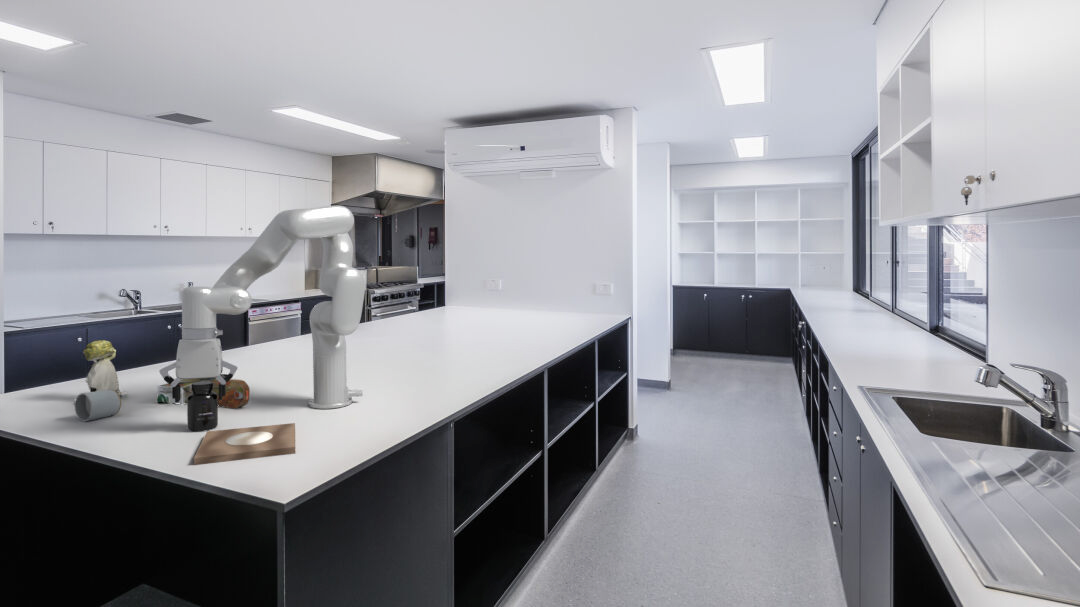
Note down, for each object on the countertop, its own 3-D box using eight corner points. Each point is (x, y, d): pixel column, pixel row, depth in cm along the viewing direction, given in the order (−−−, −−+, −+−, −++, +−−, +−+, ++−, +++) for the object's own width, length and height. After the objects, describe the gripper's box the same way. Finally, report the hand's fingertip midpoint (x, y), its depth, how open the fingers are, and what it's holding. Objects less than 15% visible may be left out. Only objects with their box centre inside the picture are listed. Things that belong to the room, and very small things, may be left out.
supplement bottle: (204, 433, 142) (202, 386, 141) (181, 431, 143) (179, 385, 142) (224, 425, 148) (223, 380, 147) (202, 423, 150) (201, 379, 149)
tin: (207, 404, 169) (206, 377, 168) (216, 402, 172) (215, 375, 171) (243, 410, 163) (242, 382, 162) (252, 407, 166) (251, 380, 165)
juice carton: (230, 391, 187) (229, 374, 186) (181, 406, 167) (180, 387, 167) (204, 389, 188) (204, 372, 188) (153, 404, 169) (152, 385, 168)
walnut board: (295, 428, 146) (295, 422, 146) (295, 453, 128) (295, 446, 128) (207, 437, 138) (207, 430, 138) (194, 464, 120) (193, 457, 120)
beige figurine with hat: (132, 393, 181) (130, 337, 179) (117, 403, 168) (114, 343, 167) (88, 395, 177) (85, 338, 175) (69, 406, 164) (66, 344, 163)
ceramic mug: (124, 415, 156) (123, 388, 155) (91, 423, 148) (90, 395, 148) (100, 411, 160) (98, 384, 159) (67, 418, 152) (65, 391, 152)
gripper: (238, 332, 150) (238, 394, 151) (162, 333, 143) (163, 398, 144) (236, 335, 144) (236, 401, 145) (156, 336, 137) (156, 405, 138)
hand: (199, 400), depth 145 cm, fingers open, 9 cm apart
